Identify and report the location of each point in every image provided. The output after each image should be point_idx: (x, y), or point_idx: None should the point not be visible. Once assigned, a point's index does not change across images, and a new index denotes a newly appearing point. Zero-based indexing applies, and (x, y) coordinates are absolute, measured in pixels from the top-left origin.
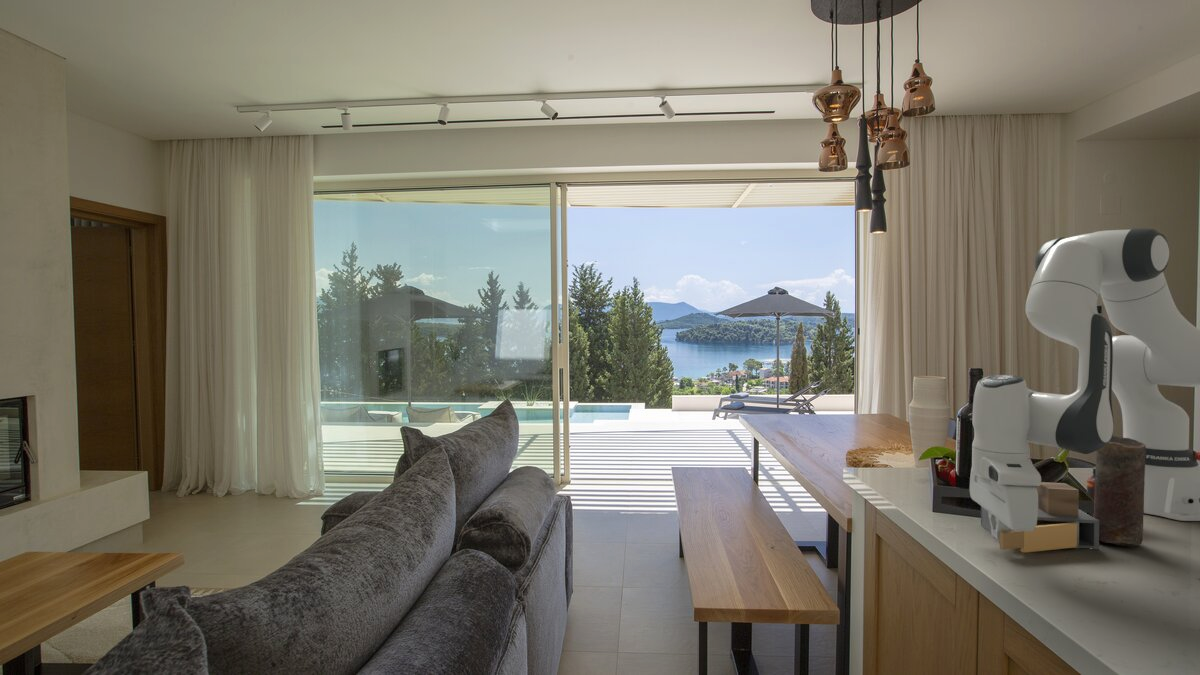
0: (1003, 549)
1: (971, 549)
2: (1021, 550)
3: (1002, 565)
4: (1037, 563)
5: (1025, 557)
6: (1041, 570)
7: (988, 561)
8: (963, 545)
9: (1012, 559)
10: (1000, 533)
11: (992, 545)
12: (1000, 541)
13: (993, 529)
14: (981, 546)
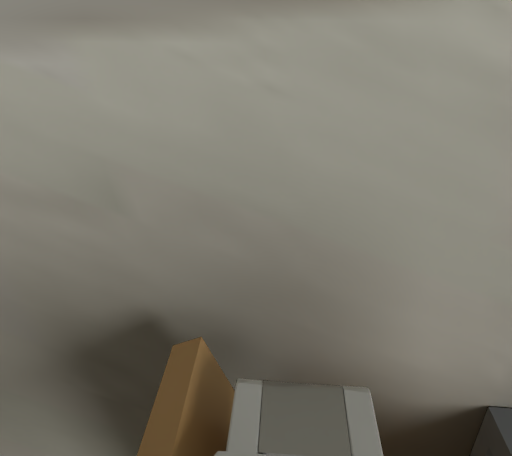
0: (175, 348)
1: (348, 155)
2: None
3: (29, 243)
4: None
5: None
6: (34, 406)
7: (80, 180)
8: (453, 123)
9: None
10: (169, 452)
11: (450, 339)
12: (184, 383)
13: (325, 447)
14: (427, 260)
